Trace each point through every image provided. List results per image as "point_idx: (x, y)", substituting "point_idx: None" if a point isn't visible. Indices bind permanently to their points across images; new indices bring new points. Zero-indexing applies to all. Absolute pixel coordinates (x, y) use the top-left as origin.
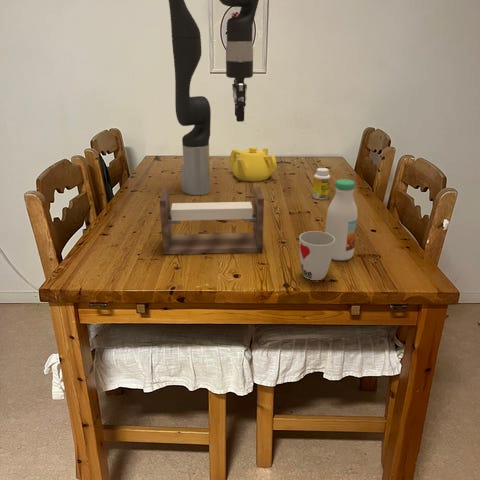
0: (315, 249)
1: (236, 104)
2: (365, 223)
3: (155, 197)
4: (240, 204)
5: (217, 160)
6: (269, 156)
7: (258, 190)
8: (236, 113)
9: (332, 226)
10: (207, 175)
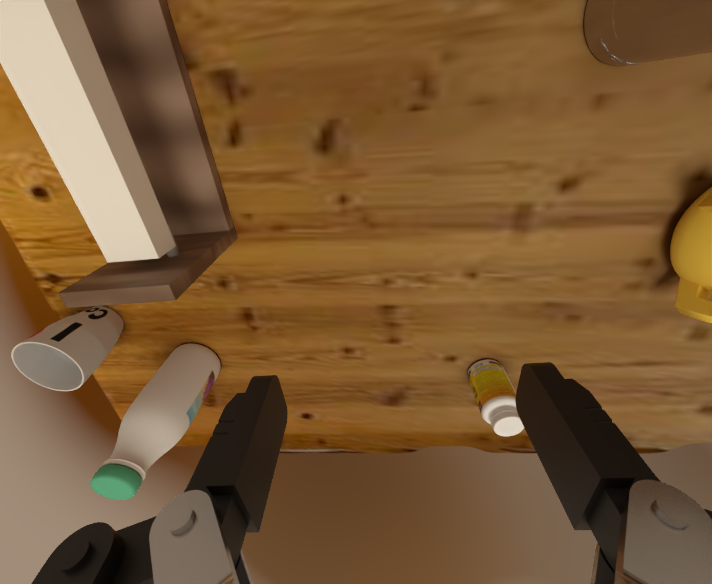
0: (21, 356)
1: (68, 553)
2: (337, 412)
3: None
4: (123, 229)
5: None
6: None
7: (136, 295)
8: (233, 429)
9: (140, 392)
10: (651, 47)
